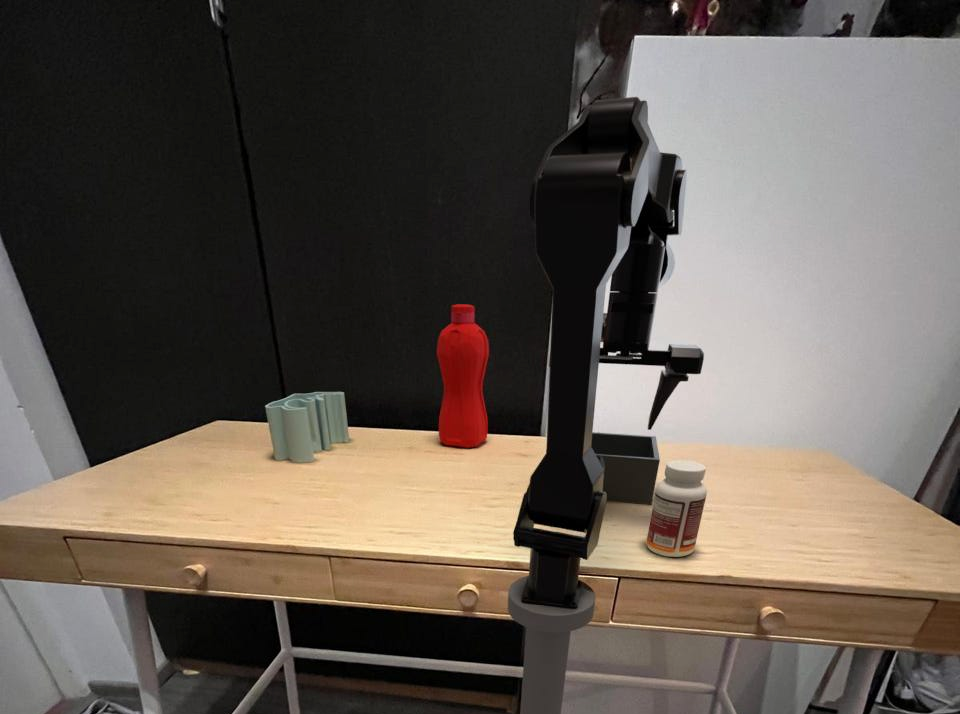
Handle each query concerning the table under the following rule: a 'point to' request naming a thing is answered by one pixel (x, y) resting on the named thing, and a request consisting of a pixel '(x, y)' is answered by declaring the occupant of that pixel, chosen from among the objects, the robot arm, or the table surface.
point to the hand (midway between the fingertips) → (614, 427)
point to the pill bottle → (677, 509)
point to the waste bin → (628, 466)
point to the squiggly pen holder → (306, 424)
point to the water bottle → (463, 379)
